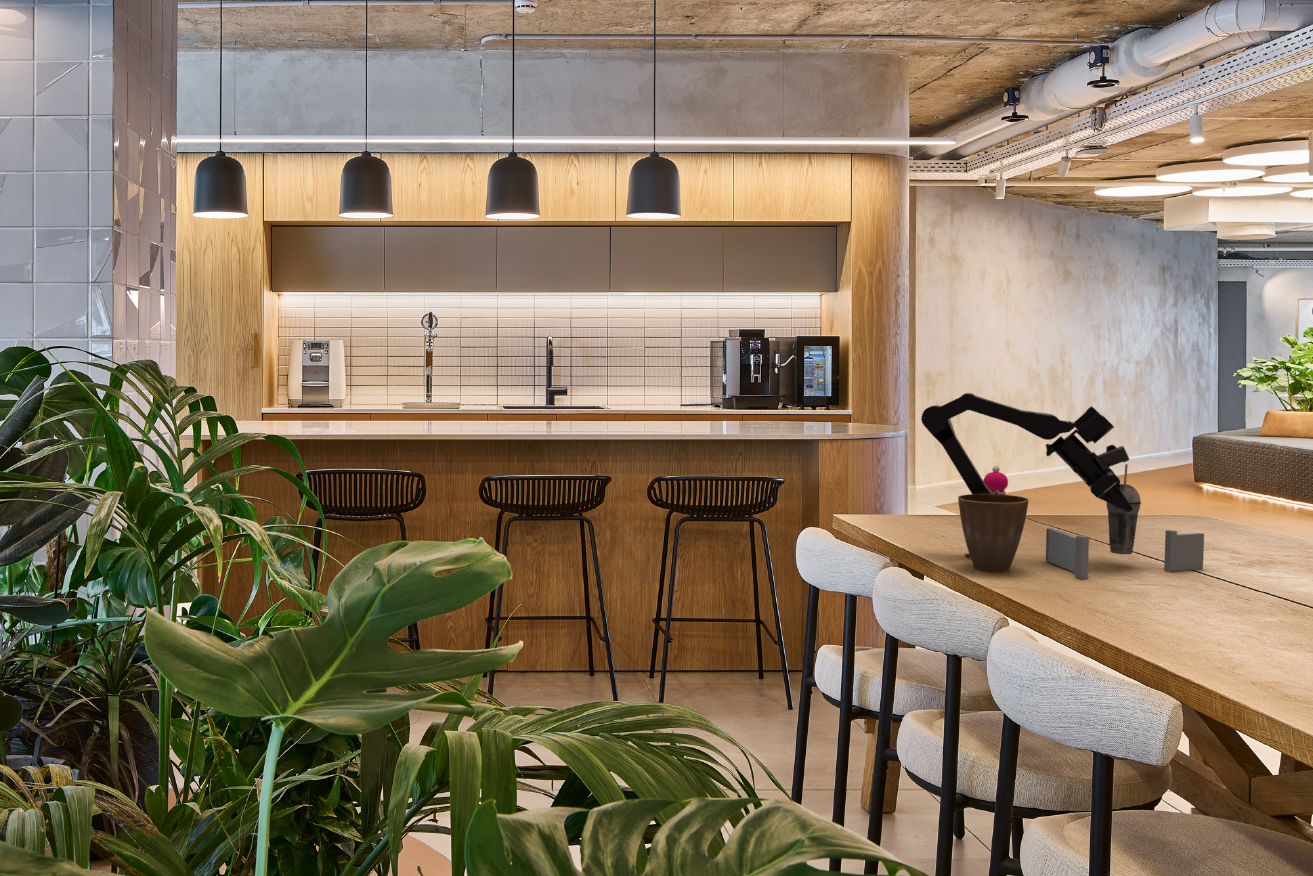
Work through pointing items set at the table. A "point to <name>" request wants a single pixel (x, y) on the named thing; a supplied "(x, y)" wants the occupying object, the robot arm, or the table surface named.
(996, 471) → the pepper mill
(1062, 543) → the grey thin rectangular panel
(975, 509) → the plant pot
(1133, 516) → the beverage cup
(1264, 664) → the table surface
